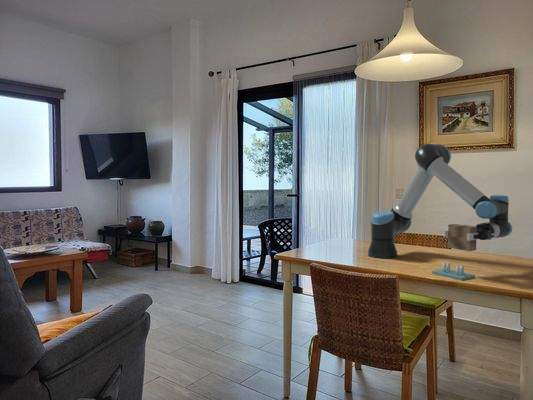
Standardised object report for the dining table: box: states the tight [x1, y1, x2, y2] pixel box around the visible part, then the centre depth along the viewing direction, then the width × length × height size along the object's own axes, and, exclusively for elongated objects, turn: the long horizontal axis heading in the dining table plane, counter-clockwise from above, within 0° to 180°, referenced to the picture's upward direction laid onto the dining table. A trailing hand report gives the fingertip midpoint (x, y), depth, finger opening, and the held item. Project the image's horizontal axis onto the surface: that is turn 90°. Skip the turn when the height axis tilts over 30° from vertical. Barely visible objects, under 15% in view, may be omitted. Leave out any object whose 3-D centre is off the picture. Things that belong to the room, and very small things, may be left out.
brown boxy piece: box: [447, 223, 477, 252], centre depth 170 cm, size 10×4×10 cm, turn 31°
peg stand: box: [431, 262, 476, 281], centre depth 171 cm, size 14×9×4 cm, turn 30°
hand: (455, 235), depth 168 cm, fingers closed on brown boxy piece, 10 cm apart
